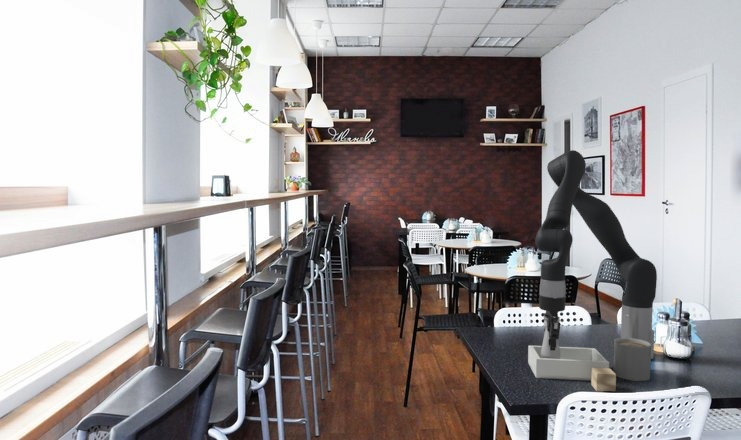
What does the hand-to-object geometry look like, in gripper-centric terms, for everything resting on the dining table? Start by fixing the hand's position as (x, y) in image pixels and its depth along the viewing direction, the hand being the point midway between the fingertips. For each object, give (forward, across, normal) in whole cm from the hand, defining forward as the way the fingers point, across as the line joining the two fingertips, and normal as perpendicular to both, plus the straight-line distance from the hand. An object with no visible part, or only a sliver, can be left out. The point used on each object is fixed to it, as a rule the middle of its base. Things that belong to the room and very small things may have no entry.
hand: (550, 349), depth 162 cm
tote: (+7, 0, +5) cm, 8 cm away
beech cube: (+7, +13, +12) cm, 19 cm away
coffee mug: (+7, -1, +25) cm, 26 cm away
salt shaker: (+4, 0, 0) cm, 4 cm away
